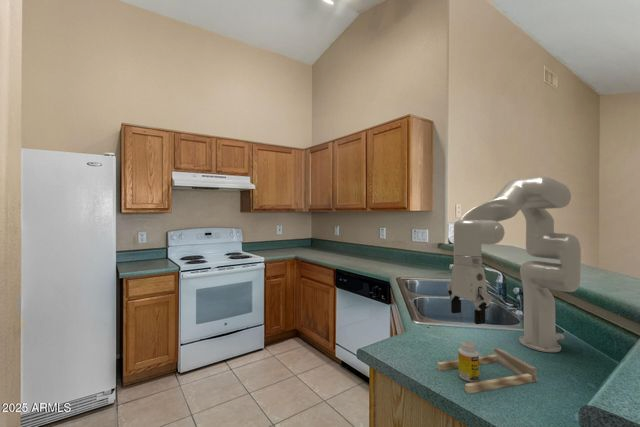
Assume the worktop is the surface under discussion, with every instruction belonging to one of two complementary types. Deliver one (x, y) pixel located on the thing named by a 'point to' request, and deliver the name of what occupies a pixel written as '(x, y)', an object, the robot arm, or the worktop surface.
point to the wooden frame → (514, 364)
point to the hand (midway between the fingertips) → (467, 317)
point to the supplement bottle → (468, 361)
